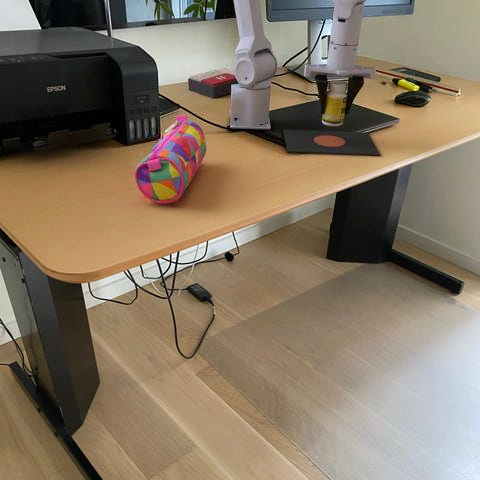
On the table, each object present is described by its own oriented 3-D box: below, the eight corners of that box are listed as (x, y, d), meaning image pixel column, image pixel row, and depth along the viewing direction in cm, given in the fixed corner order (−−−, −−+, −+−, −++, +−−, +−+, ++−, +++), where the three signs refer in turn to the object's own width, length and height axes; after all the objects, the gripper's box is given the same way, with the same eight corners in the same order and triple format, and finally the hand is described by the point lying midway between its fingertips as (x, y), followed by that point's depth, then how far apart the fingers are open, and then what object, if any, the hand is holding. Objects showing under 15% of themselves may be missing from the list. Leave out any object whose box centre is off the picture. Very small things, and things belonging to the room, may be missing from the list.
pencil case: (162, 158, 104) (159, 113, 98) (207, 161, 103) (207, 116, 98) (134, 205, 87) (129, 153, 81) (188, 210, 87) (187, 158, 81)
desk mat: (287, 152, 109) (287, 150, 109) (283, 131, 120) (283, 128, 120) (379, 156, 109) (380, 153, 109) (367, 134, 120) (367, 131, 120)
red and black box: (187, 75, 142) (225, 65, 150) (188, 91, 145) (225, 80, 153) (213, 84, 136) (252, 72, 144) (214, 100, 139) (252, 88, 147)
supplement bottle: (342, 127, 110) (349, 86, 105) (320, 125, 110) (326, 84, 105) (343, 121, 113) (349, 80, 108) (322, 118, 114) (327, 78, 109)
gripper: (310, 45, 99) (302, 117, 107) (384, 48, 99) (370, 119, 108) (306, 38, 104) (299, 107, 113) (376, 41, 105) (364, 109, 113)
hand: (333, 113), depth 111 cm, fingers closed on supplement bottle, 5 cm apart
